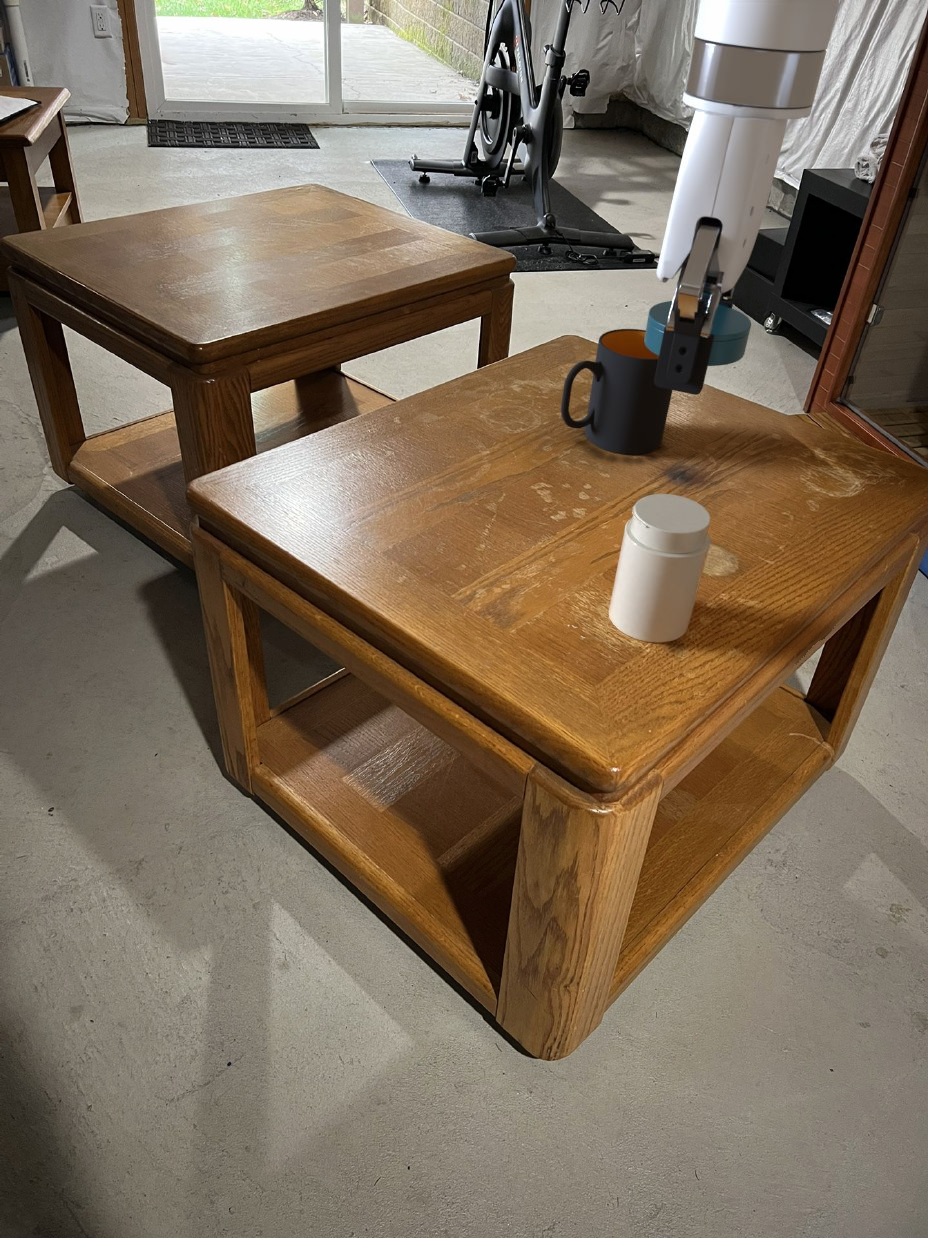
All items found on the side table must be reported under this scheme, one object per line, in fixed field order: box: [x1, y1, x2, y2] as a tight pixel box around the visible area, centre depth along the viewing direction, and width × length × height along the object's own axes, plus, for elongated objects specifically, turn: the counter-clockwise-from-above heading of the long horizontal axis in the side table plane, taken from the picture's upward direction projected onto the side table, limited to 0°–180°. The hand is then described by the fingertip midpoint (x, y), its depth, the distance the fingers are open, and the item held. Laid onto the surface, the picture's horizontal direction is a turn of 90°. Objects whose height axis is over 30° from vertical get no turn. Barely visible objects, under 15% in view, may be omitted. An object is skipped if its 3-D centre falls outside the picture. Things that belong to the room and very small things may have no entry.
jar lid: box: [644, 300, 752, 367], centre depth 64 cm, size 7×7×2 cm
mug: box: [560, 328, 673, 456], centre depth 97 cm, size 8×12×10 cm
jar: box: [608, 493, 712, 644], centre depth 72 cm, size 6×6×10 cm
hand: (688, 367), depth 65 cm, fingers closed on jar lid, 6 cm apart
